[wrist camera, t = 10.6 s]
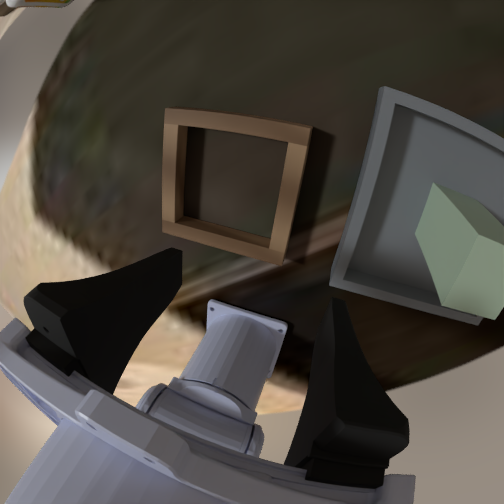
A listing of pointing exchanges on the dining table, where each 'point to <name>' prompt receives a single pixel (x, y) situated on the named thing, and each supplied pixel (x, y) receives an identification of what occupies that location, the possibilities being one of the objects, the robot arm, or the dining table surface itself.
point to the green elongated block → (463, 252)
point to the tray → (412, 198)
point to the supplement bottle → (37, 3)
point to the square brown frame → (217, 234)
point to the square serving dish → (5, 8)
